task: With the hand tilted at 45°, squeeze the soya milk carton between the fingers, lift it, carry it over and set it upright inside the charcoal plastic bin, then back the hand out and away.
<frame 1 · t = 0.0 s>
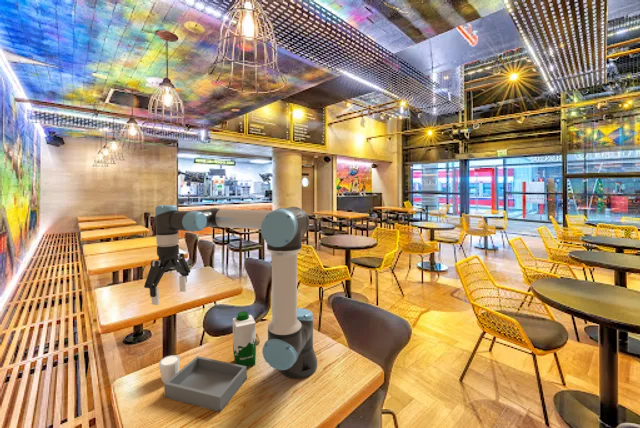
hand: (170, 297, 108), 28 cm above the table, tool pointing down, fingers open, 13 cm apart
bin: (207, 387, 98), on the table
soya milk: (244, 362, 112), on the table
pastry: (250, 344, 126), on the table
white round container: (170, 378, 103), on the table
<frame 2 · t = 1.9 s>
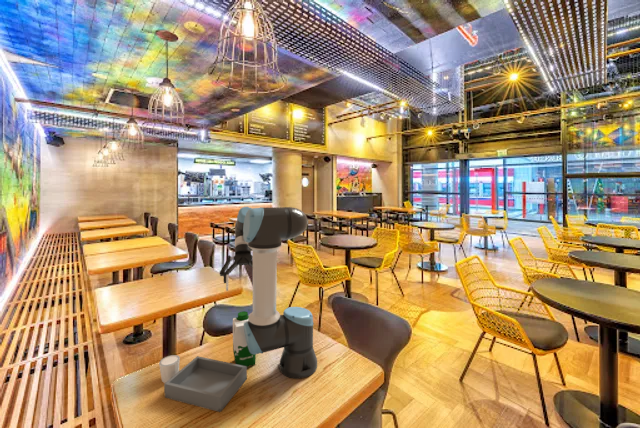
hand: (243, 288, 120), 28 cm above the table, tool tilted 45°, fingers open, 13 cm apart
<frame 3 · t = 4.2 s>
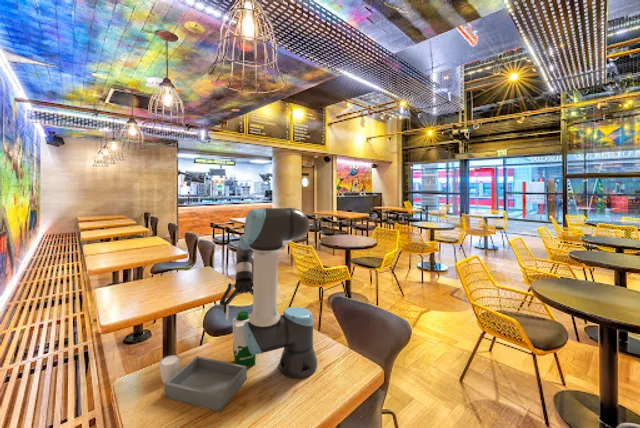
hand: (243, 318, 117), 16 cm above the table, tool tilted 45°, fingers open, 13 cm apart
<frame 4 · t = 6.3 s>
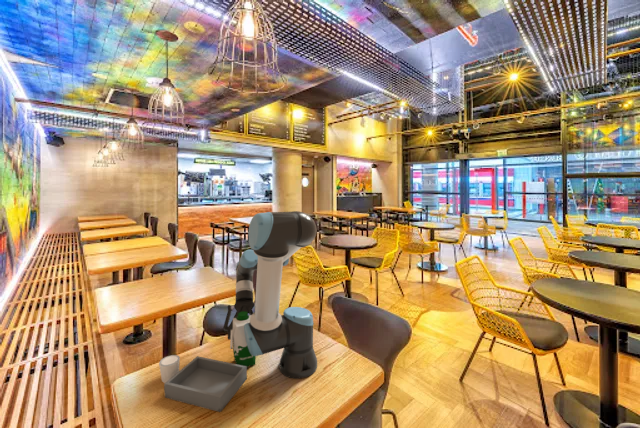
hand: (244, 346, 108), 9 cm above the table, tool tilted 45°, fingers open, 9 cm apart
soya milk: (244, 362, 112), on the table, touching gripper
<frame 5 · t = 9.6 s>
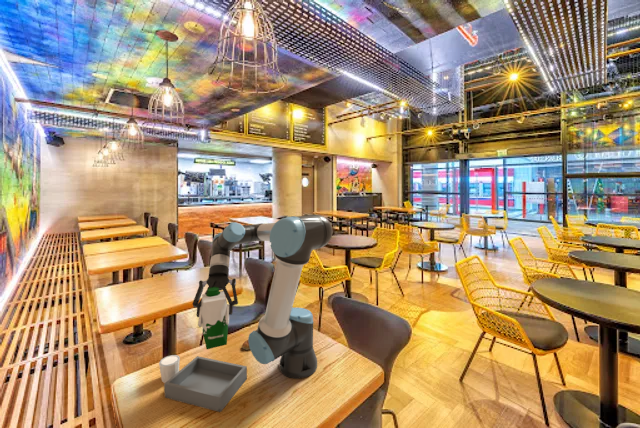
hand: (213, 324, 98), 22 cm above the table, tool tilted 45°, fingers closed on soya milk, 9 cm apart
soya milk: (216, 342, 102), point 14 cm above the table, touching gripper
when the fingers open (11 cm above the table, at t = 12.7 s): soya milk stays where it is, resting on bin.
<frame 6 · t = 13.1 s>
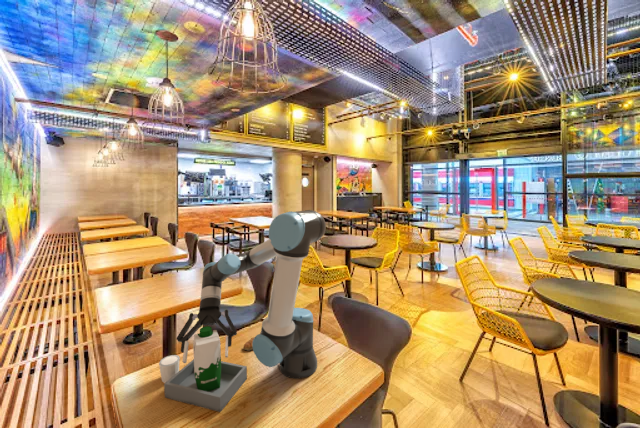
hand: (205, 359, 95), 12 cm above the table, tool tilted 45°, fingers open, 13 cm apart
soya milk: (208, 385, 98), point 1 cm above the table, touching bin
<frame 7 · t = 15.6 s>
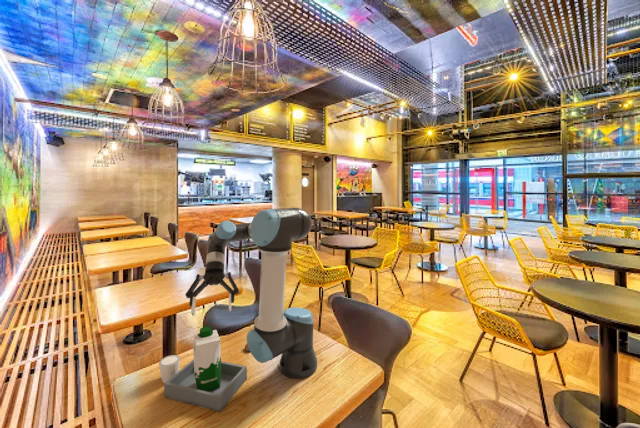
hand: (211, 312, 107), 23 cm above the table, tool tilted 45°, fingers open, 13 cm apart
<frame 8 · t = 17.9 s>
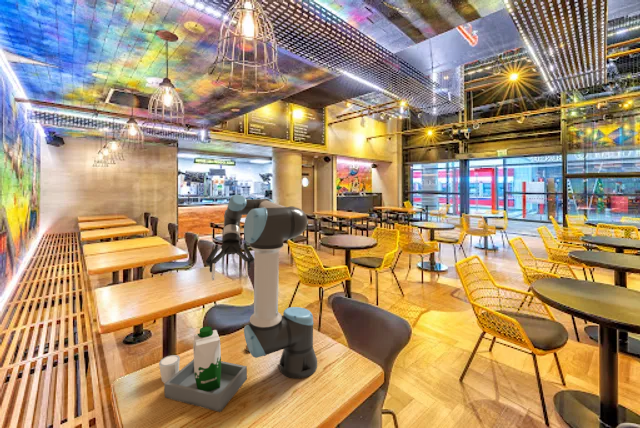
hand: (229, 277, 115), 34 cm above the table, tool tilted 45°, fingers open, 13 cm apart
at the end: soya milk inside the target area on the bin (0.1 cm from its centre), point 0.8 cm above the bin's base; soya milk tilted 0°; the gripper is holding nothing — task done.
